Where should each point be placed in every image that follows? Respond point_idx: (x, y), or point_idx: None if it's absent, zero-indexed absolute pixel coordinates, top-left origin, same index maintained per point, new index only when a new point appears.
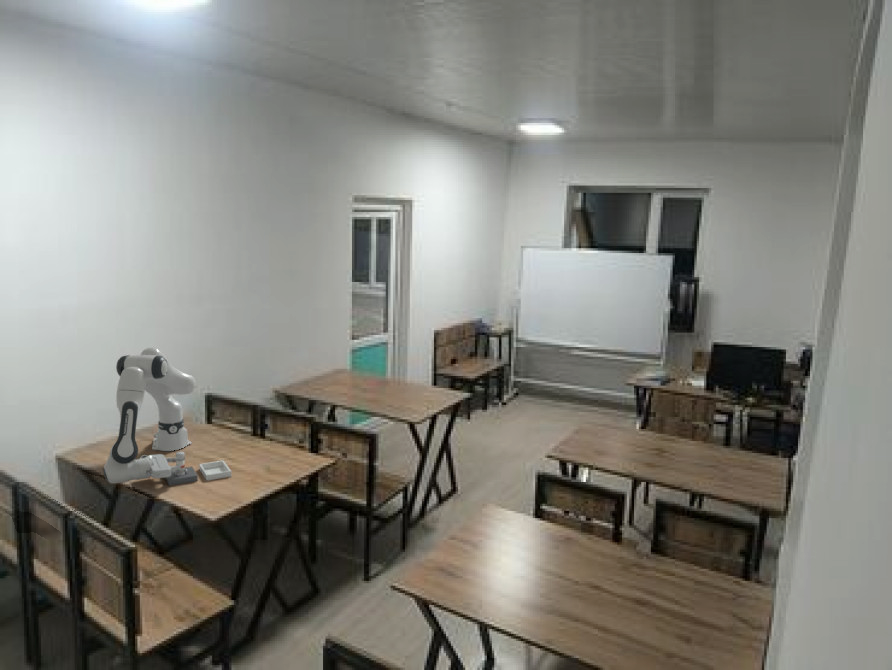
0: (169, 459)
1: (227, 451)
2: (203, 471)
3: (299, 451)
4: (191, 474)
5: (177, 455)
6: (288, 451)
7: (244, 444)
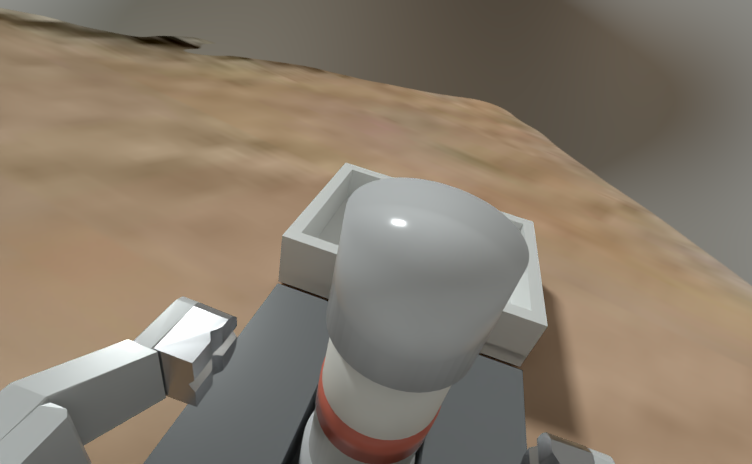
0: (94, 401)
1: (175, 112)
2: None
3: (391, 87)
4: (469, 391)
5: (492, 303)
6: (369, 89)
7: (185, 76)
